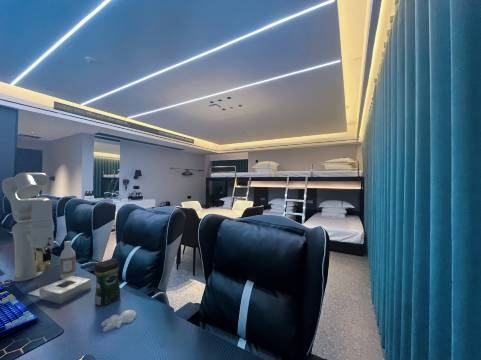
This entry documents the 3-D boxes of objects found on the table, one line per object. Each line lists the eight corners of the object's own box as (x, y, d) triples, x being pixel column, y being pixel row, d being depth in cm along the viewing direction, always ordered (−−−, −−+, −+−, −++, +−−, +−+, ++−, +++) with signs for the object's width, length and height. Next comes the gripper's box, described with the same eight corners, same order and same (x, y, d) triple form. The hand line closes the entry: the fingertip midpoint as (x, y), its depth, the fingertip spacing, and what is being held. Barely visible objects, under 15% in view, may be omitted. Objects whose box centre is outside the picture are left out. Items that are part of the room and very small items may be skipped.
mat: (28, 294, 103) (28, 293, 103) (47, 285, 111) (47, 285, 111) (39, 296, 101) (39, 295, 101) (57, 288, 108) (57, 287, 108)
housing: (39, 298, 99) (39, 289, 99) (71, 284, 112) (70, 275, 112) (60, 303, 95) (60, 293, 95) (90, 288, 108) (90, 279, 108)
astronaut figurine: (100, 322, 83) (100, 314, 83) (134, 310, 91) (134, 303, 91) (102, 335, 76) (102, 327, 76) (138, 321, 84) (138, 314, 84)
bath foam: (59, 280, 117) (58, 244, 116) (61, 275, 122) (60, 241, 122) (75, 277, 120) (74, 242, 120) (76, 272, 126) (75, 239, 126)
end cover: (33, 271, 104) (33, 251, 104) (45, 267, 108) (45, 247, 108) (40, 272, 102) (40, 251, 102) (52, 268, 107) (51, 248, 107)
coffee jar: (114, 293, 104) (114, 255, 103) (122, 298, 99) (122, 258, 99) (91, 302, 96) (91, 262, 95) (99, 308, 91) (99, 266, 91)
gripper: (21, 224, 104) (22, 261, 104) (45, 226, 99) (45, 265, 99) (39, 221, 111) (40, 256, 111) (62, 223, 106) (63, 259, 106)
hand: (42, 259), depth 105 cm, fingers closed on end cover, 5 cm apart
